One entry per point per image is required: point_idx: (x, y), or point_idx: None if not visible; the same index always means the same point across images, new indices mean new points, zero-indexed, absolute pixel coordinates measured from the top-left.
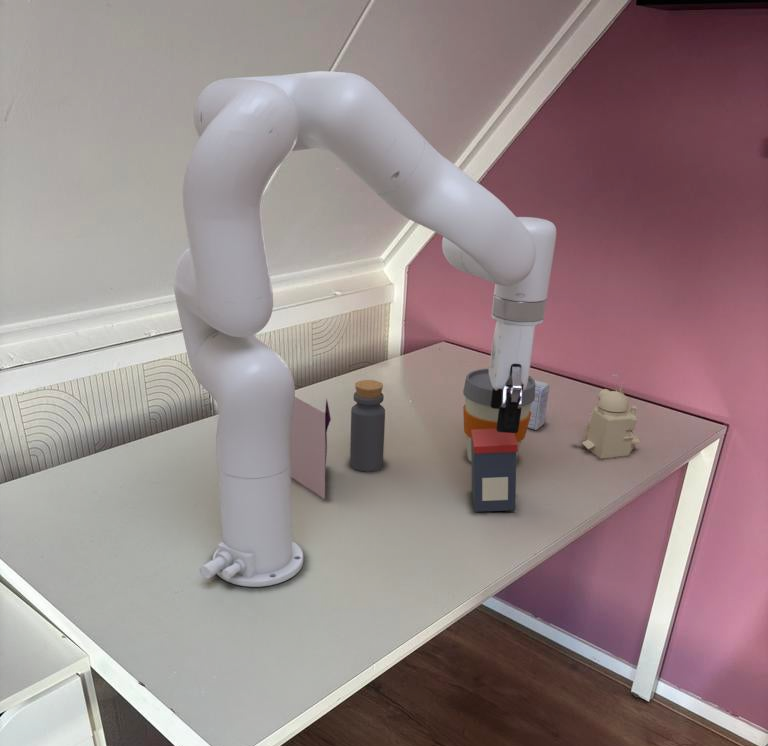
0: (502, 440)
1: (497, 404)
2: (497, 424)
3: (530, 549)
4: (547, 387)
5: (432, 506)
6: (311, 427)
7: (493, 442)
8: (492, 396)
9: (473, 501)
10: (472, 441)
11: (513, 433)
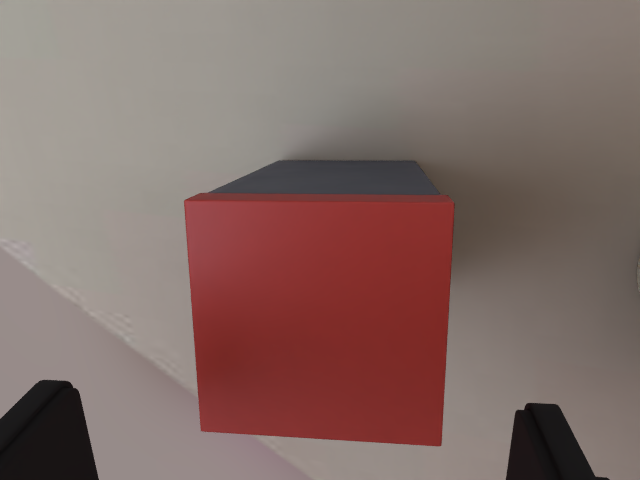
0: (262, 366)
1: (518, 464)
2: (10, 409)
3: (96, 297)
4: None
5: (307, 3)
6: None
7: (236, 315)
8: (559, 477)
9: (326, 161)
10: (328, 196)
11: (352, 436)
